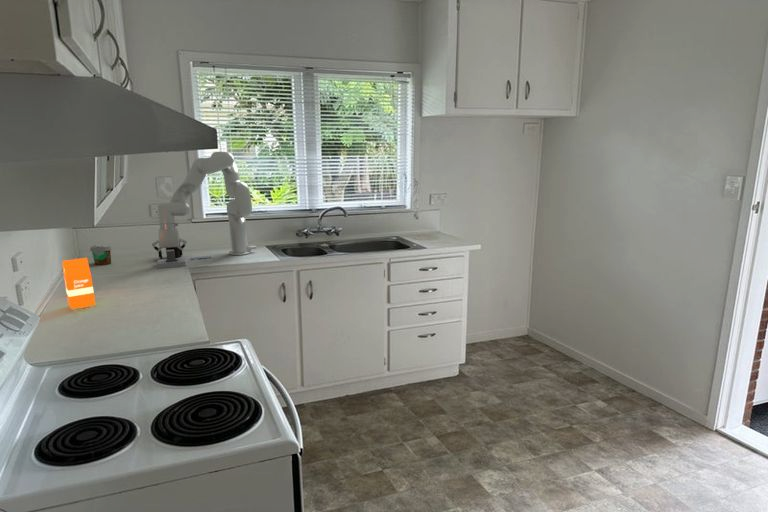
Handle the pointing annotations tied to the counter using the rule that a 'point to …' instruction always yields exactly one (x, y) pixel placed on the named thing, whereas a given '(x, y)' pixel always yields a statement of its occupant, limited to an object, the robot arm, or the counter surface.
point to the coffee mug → (175, 251)
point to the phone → (200, 257)
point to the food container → (101, 255)
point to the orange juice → (78, 283)
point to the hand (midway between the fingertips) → (171, 257)
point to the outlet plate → (171, 263)
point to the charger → (170, 255)
